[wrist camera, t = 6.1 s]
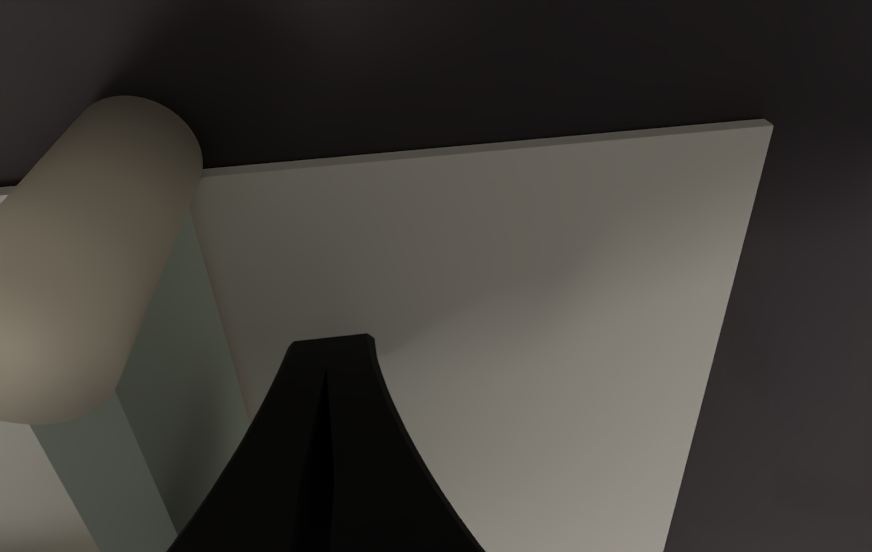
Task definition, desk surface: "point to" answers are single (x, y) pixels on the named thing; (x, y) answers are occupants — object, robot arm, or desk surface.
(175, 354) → the fence swing panel
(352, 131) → the desk surface
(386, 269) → the card
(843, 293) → the desk surface
